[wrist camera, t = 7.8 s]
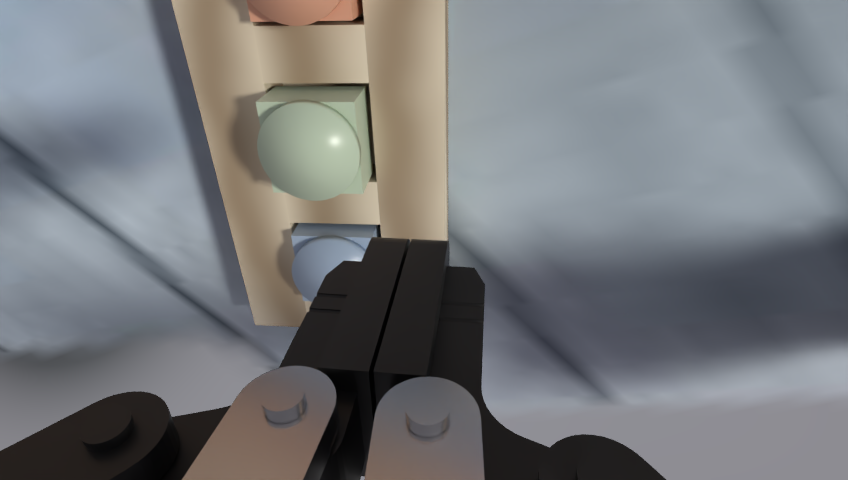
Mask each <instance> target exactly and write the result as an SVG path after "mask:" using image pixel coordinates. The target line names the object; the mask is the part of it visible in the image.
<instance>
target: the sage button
mask: <svg viewBox="0 0 848 480" xmlns="http://www.w3.org/2000/svg"><path fill="white" fill-rule="evenodd" d="M256 107H257V112H258V117H259V122H260V127H261V128H260V131H259V134H258V139H257V150H258V156H259V159H260V162H261V165H262V167H263V169H264V171H265V172H266V174H267V175H268V177H269V178H270V179H271V182H272V187H273V192H274V193H288V194H290V195H292V196H295V197H297V198H300V199H304V200H311V201H321V200H327V199H331V198H333V197H336V196H338V195H339V194H363V193H364V191H365V189H366V186H367V184H368V182H369V179H370V177H371V175H372V172H373V170H372V158H371V146H370V134H369V122H368V110H367V98H366V86H276V87H274V88H273V89H272V90H270V91H269V92H268V93H266V94H265V95H264V96H263V97H261V98H260V99H259V100H257V101H256Z"/></svg>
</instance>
